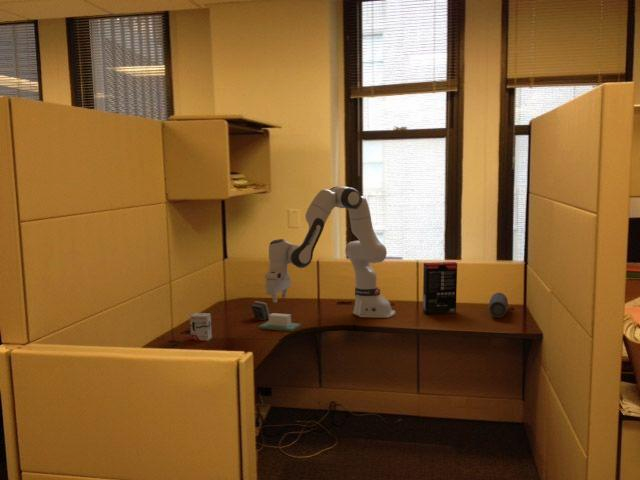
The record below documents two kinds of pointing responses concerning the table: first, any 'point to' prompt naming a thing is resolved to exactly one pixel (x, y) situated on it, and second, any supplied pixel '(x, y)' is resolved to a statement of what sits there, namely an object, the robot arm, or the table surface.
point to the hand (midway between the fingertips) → (279, 300)
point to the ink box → (200, 326)
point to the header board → (280, 327)
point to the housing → (280, 319)
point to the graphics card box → (439, 287)
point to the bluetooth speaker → (498, 305)
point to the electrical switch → (260, 310)
